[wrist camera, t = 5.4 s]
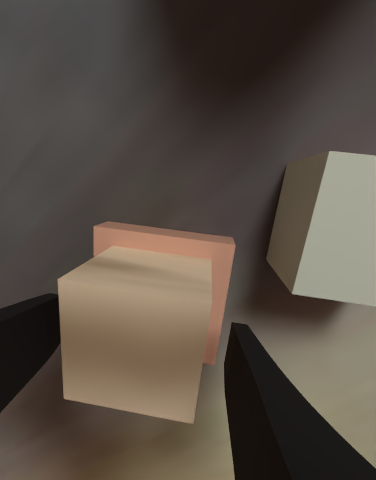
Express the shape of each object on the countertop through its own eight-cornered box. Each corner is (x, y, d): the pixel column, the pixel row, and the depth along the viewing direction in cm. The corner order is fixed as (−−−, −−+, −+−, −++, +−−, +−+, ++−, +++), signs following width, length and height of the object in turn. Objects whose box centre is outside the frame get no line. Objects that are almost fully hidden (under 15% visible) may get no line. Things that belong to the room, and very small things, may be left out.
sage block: (359, 271, 11) (435, 315, 8) (265, 258, 12) (292, 293, 8) (392, 175, 10) (503, 168, 6) (286, 163, 11) (329, 150, 7)
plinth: (214, 345, 13) (214, 365, 12) (106, 327, 14) (94, 344, 12) (232, 237, 12) (235, 244, 10) (107, 221, 12) (93, 226, 11)
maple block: (198, 345, 12) (193, 424, 8) (110, 330, 12) (63, 398, 8) (211, 259, 10) (211, 303, 7) (112, 245, 11) (57, 279, 7)
